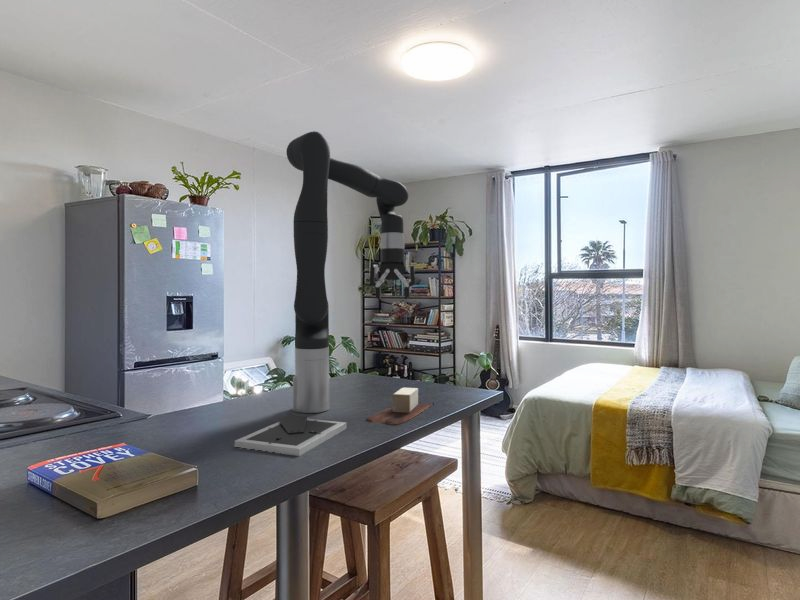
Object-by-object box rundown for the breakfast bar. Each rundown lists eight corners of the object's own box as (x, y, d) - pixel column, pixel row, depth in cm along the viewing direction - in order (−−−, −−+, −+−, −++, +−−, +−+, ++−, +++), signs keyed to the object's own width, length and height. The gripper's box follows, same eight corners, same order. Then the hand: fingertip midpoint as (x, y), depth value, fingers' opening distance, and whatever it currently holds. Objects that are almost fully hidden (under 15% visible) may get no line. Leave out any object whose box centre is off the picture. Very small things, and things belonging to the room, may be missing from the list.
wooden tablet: (409, 397, 146) (439, 396, 141) (409, 404, 146) (440, 404, 141) (362, 418, 122) (396, 418, 118) (363, 427, 122) (397, 427, 118)
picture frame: (290, 425, 122) (234, 450, 102) (290, 413, 122) (234, 437, 102) (346, 431, 116) (299, 459, 97) (346, 419, 116) (299, 445, 97)
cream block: (402, 387, 138) (392, 394, 129) (418, 388, 137) (409, 395, 127) (402, 403, 138) (392, 411, 129) (418, 404, 137) (409, 412, 127)
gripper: (368, 247, 151) (368, 299, 151) (414, 246, 149) (414, 299, 150) (372, 249, 158) (372, 299, 158) (415, 248, 157) (416, 299, 157)
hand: (392, 299), depth 154 cm, fingers open, 8 cm apart
